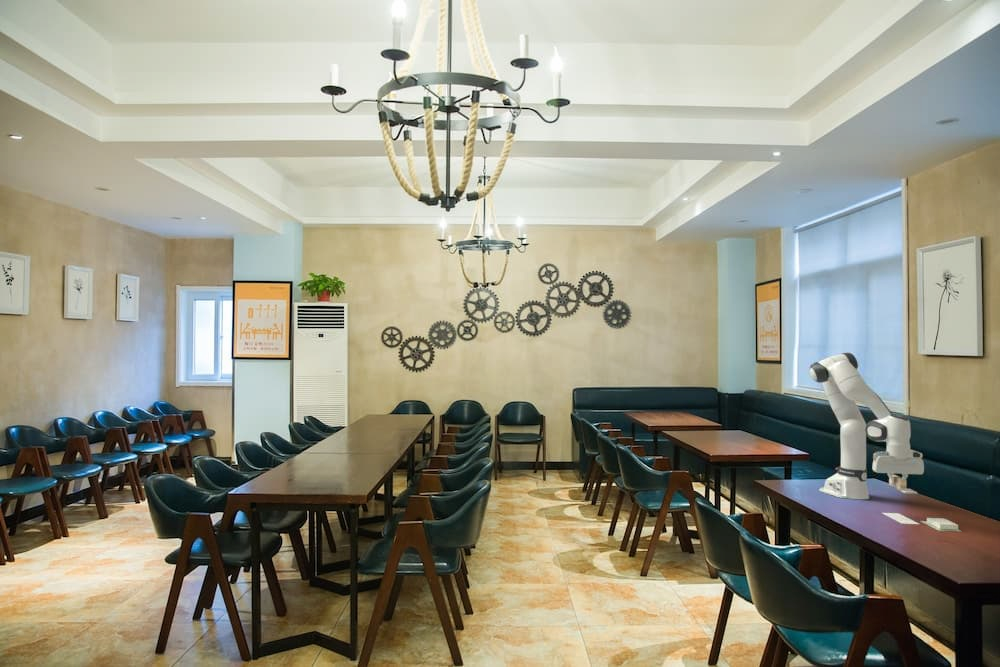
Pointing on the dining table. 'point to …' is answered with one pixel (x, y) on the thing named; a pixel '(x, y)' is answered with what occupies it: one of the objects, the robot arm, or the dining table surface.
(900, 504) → the dining table surface
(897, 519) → the pad
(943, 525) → the tile
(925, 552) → the dining table surface
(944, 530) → the mat
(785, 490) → the dining table surface
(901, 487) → the turner
